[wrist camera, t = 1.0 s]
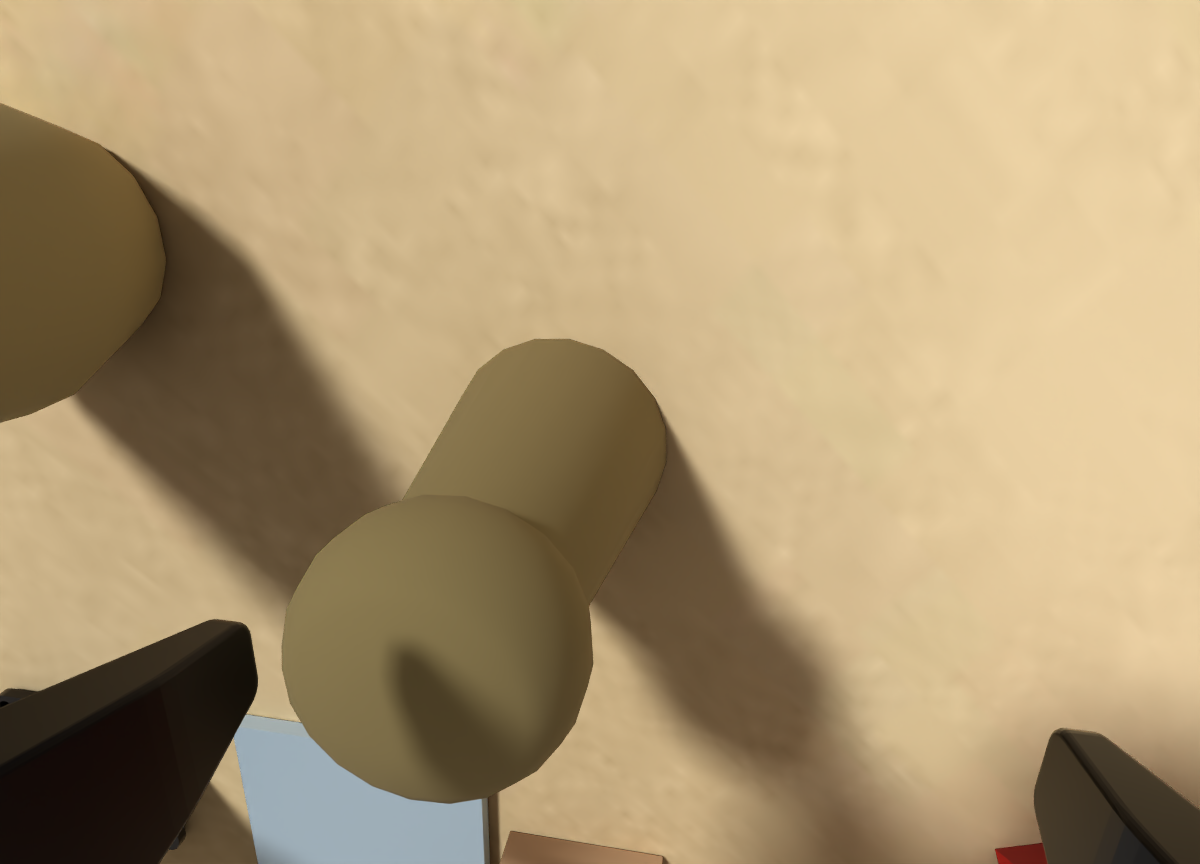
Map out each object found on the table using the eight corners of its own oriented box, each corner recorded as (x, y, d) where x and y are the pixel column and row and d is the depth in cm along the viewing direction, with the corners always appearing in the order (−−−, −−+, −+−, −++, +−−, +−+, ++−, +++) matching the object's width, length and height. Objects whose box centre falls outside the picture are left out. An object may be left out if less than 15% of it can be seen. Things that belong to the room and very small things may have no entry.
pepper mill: (548, 290, 20) (355, 456, 10) (713, 446, 21) (685, 741, 11) (415, 440, 23) (149, 695, 13) (568, 575, 23) (435, 918, 13)
